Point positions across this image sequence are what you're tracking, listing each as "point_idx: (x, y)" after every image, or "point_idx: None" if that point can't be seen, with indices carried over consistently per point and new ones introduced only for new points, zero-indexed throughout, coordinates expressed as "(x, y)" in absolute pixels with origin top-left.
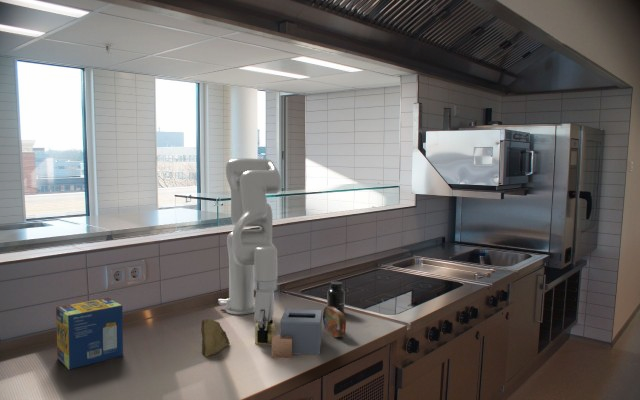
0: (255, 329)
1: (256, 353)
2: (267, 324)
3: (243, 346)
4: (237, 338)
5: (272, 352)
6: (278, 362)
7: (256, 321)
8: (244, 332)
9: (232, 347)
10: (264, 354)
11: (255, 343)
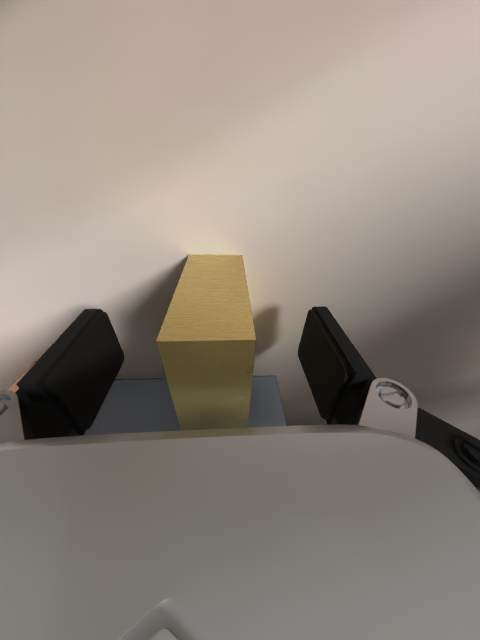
0: (168, 315)
1: (39, 290)
2: (221, 417)
3: (111, 169)
4: (305, 33)
5: (15, 385)
6: (7, 386)
7: (52, 438)
8: (465, 95)
9: (31, 27)
10: (53, 329)
11: (188, 258)
